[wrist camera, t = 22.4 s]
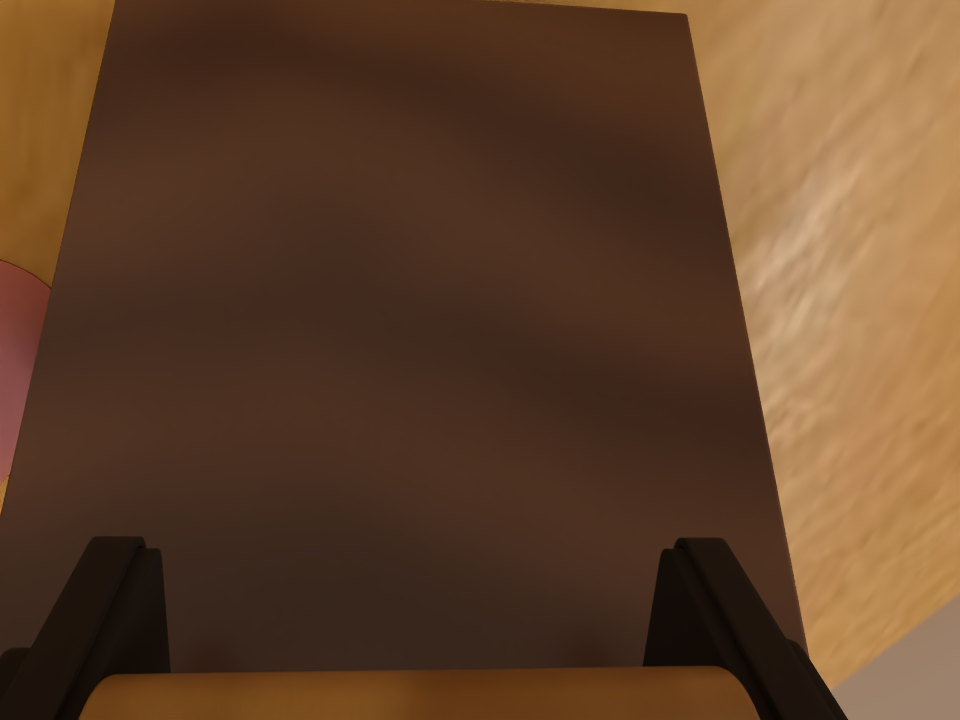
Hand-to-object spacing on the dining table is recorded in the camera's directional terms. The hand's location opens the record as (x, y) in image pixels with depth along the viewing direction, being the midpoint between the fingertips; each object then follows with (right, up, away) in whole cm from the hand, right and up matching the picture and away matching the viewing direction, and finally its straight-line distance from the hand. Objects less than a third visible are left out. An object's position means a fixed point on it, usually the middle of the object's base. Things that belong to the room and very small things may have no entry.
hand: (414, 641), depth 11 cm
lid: (-1, +3, +5) cm, 6 cm away
